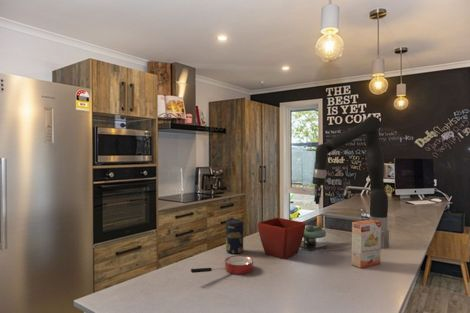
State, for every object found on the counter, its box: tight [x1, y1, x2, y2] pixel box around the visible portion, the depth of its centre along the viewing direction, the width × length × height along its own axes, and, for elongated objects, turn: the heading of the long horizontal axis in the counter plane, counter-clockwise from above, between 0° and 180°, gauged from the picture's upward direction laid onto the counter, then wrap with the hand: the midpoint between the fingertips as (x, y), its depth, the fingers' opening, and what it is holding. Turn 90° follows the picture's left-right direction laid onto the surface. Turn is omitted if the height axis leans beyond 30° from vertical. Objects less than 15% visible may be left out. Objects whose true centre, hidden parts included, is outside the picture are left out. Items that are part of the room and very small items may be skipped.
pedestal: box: [299, 237, 328, 252], centre depth 179 cm, size 14×14×7 cm
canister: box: [225, 218, 244, 254], centre depth 168 cm, size 10×10×18 cm
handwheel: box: [303, 215, 327, 239], centre depth 179 cm, size 20×18×9 cm
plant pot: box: [257, 217, 307, 260], centre depth 165 cm, size 19×19×17 cm
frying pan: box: [190, 255, 254, 275], centre depth 136 cm, size 32×13×6 cm, turn 135°
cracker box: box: [351, 219, 382, 269], centre depth 149 cm, size 14×6×21 cm, turn 117°
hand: (316, 202), depth 190 cm, fingers open, 8 cm apart
